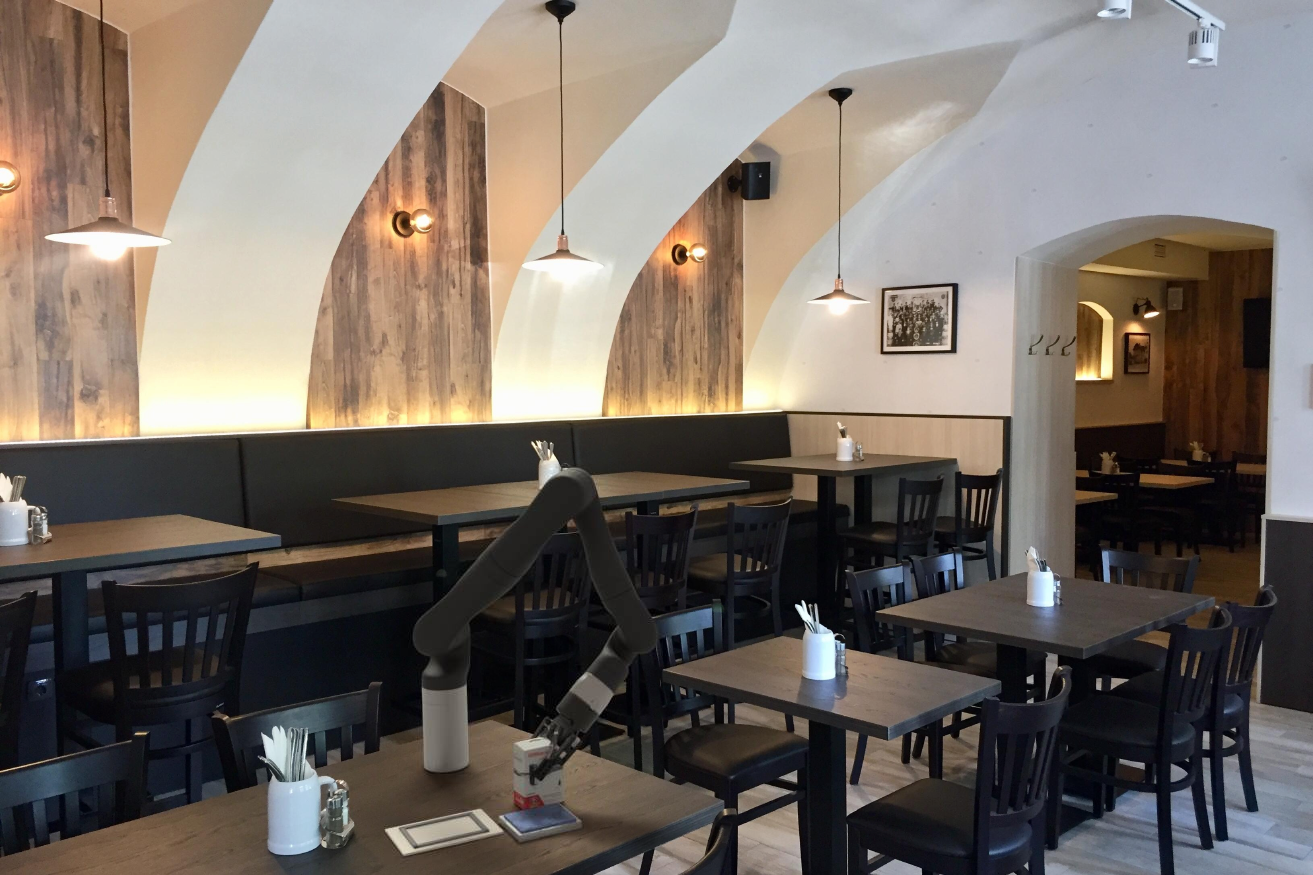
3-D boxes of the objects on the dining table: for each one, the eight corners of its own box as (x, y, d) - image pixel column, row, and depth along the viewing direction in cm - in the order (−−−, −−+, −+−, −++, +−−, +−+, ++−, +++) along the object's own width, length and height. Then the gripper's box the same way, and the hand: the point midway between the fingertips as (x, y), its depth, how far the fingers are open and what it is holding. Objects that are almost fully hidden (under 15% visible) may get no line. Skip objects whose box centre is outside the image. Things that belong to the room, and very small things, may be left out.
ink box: (525, 812, 199) (523, 749, 199) (513, 803, 203) (511, 742, 203) (565, 801, 204) (563, 740, 203) (553, 793, 208) (551, 734, 207)
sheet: (385, 831, 191) (385, 827, 191) (480, 810, 200) (480, 807, 200) (403, 856, 181) (403, 852, 181) (503, 833, 189) (503, 829, 189)
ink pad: (498, 822, 194) (498, 814, 194) (559, 809, 200) (559, 800, 200) (519, 842, 186) (519, 833, 186) (581, 827, 191) (581, 819, 191)
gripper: (557, 681, 212) (502, 751, 207) (588, 699, 200) (530, 773, 195) (582, 703, 215) (528, 772, 210) (614, 722, 203) (558, 796, 197)
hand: (530, 772), depth 202 cm, fingers open, 6 cm apart
